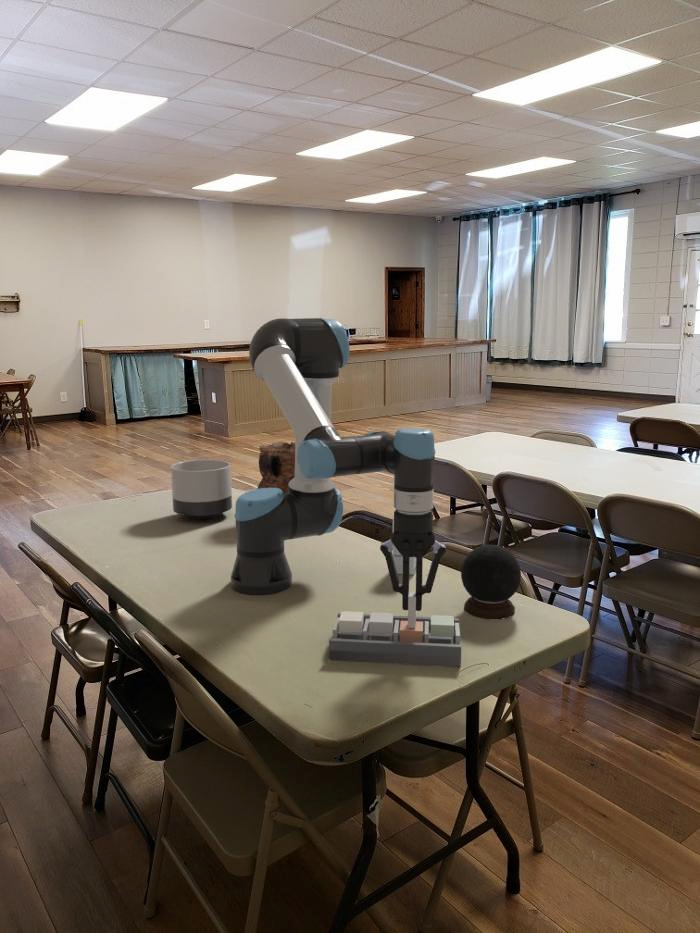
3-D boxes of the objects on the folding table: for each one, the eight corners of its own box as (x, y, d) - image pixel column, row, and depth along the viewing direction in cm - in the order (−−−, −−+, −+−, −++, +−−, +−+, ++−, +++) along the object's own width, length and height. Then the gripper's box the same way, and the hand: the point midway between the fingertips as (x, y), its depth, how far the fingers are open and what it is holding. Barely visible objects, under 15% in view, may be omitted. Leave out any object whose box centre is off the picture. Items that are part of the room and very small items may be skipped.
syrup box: (414, 575, 180) (415, 520, 177) (391, 573, 181) (392, 519, 178) (417, 567, 185) (417, 514, 182) (394, 566, 186) (395, 513, 183)
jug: (266, 508, 244) (264, 438, 239) (325, 510, 241) (325, 439, 236) (249, 526, 223) (246, 449, 218) (313, 529, 220) (312, 451, 215)
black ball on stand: (481, 625, 150) (483, 558, 147) (448, 603, 162) (450, 541, 159) (531, 615, 155) (534, 550, 152) (496, 594, 167) (499, 534, 164)
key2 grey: (369, 633, 138) (369, 621, 137) (371, 623, 142) (371, 612, 142) (392, 634, 137) (392, 622, 137) (393, 624, 142) (393, 613, 141)
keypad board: (329, 659, 135) (329, 638, 134) (338, 630, 147) (338, 611, 146) (460, 666, 132) (461, 645, 131) (458, 636, 145) (458, 616, 144)
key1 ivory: (338, 631, 138) (338, 620, 138) (341, 622, 143) (341, 611, 142) (361, 632, 138) (361, 621, 137) (363, 623, 142) (363, 612, 142)
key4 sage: (430, 636, 136) (430, 624, 136) (430, 626, 141) (430, 615, 140) (453, 637, 136) (454, 625, 135) (453, 627, 140) (453, 616, 140)
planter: (226, 525, 225) (224, 471, 221) (166, 524, 225) (163, 471, 222) (236, 509, 244) (235, 459, 240) (181, 509, 244) (179, 459, 240)
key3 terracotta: (399, 641, 137) (399, 630, 137) (400, 631, 142) (400, 620, 141) (422, 642, 137) (422, 631, 136) (422, 632, 141) (423, 621, 141)
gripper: (378, 514, 131) (377, 631, 136) (448, 516, 130) (445, 634, 134) (380, 504, 138) (380, 615, 143) (447, 505, 137) (444, 618, 142)
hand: (411, 624), depth 139 cm, fingers closed
